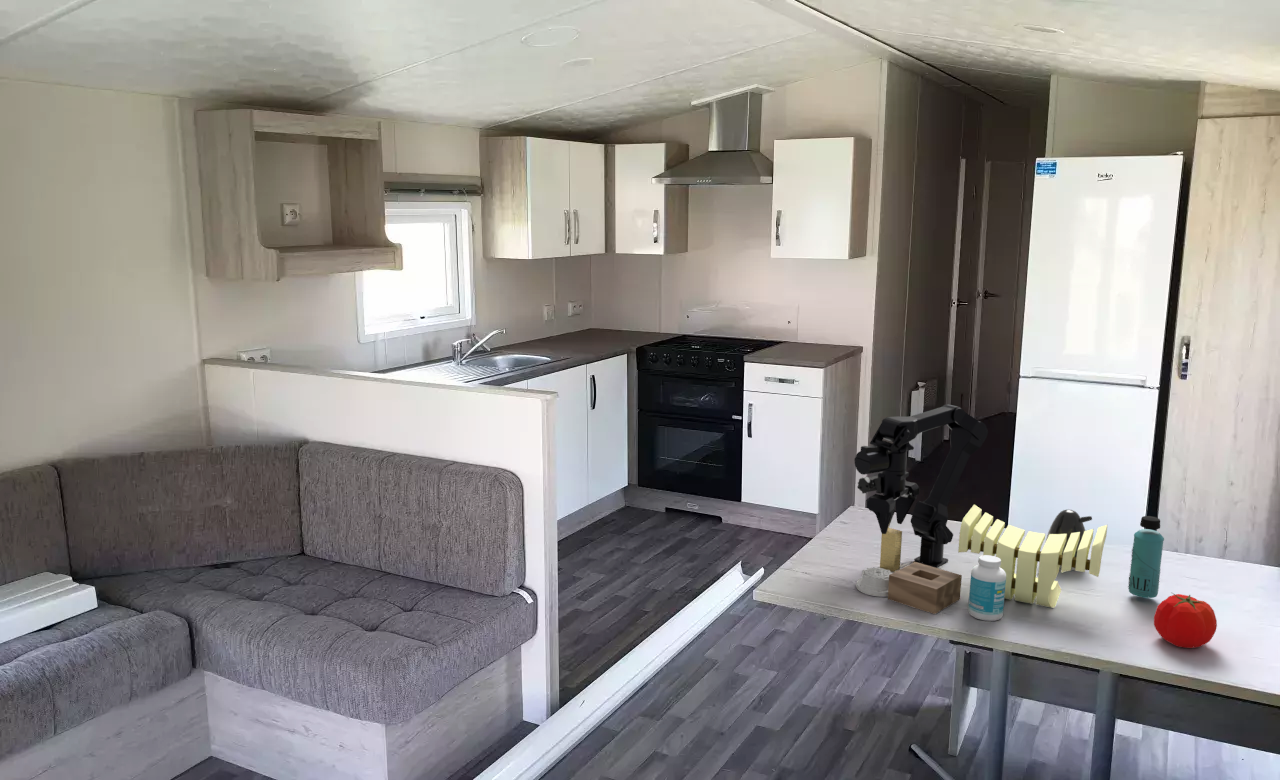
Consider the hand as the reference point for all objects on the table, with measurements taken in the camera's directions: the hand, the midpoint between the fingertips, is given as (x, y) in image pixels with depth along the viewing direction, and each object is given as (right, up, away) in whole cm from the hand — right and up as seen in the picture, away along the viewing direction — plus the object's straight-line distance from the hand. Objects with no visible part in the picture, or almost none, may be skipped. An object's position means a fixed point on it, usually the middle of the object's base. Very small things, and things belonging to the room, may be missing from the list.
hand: (891, 528), depth 242 cm
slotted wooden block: (+3, -14, -16) cm, 22 cm away
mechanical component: (-6, -13, -10) cm, 18 cm away
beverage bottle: (+55, -15, -15) cm, 59 cm away
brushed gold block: (0, -11, +3) cm, 11 cm away
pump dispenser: (+46, -11, +5) cm, 47 cm away
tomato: (+52, -19, -38) cm, 67 cm away
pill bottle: (+15, -16, -25) cm, 33 cm away
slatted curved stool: (+29, -14, -13) cm, 35 cm away
